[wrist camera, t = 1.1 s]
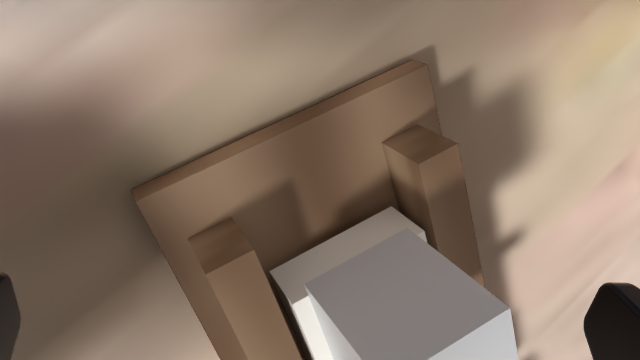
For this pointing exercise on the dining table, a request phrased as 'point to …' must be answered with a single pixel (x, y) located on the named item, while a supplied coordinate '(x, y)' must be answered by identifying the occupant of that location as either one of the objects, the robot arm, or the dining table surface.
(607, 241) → the dining table surface
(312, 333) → the pale grey cube box
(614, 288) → the robot arm
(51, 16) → the dining table surface
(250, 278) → the gauge bench
